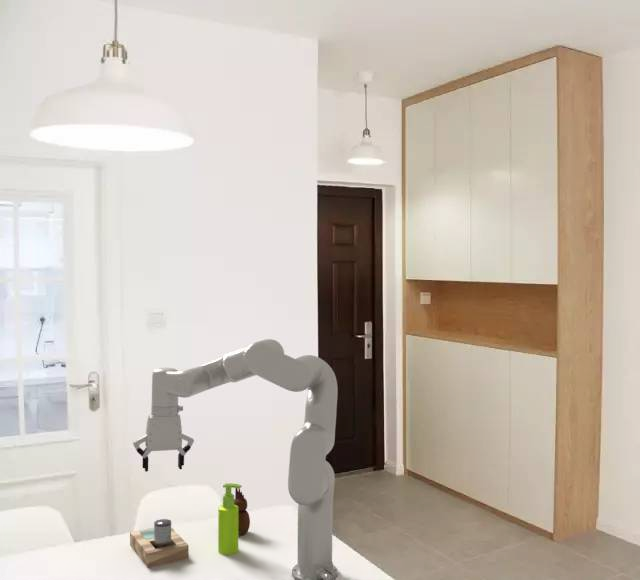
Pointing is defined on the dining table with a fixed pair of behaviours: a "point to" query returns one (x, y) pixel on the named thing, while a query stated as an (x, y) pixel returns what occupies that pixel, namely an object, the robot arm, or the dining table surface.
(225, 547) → the soap dispenser
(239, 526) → the wooden figurine
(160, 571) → the dining table surface
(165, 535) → the grey cylinder
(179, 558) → the housing
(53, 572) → the dining table surface
